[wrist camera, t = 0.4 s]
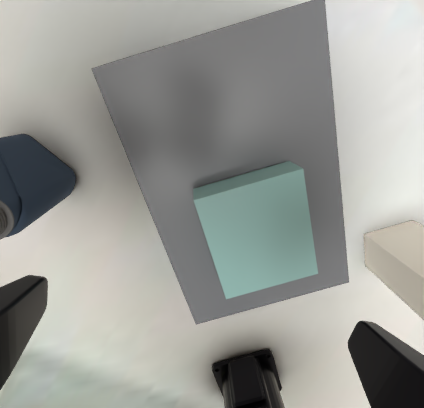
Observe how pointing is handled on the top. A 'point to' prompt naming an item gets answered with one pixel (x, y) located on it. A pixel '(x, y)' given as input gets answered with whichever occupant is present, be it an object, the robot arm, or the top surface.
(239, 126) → the socket
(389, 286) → the grey tall block
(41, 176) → the vaping device
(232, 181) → the teal rectangular block
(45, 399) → the top surface
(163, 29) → the top surface
